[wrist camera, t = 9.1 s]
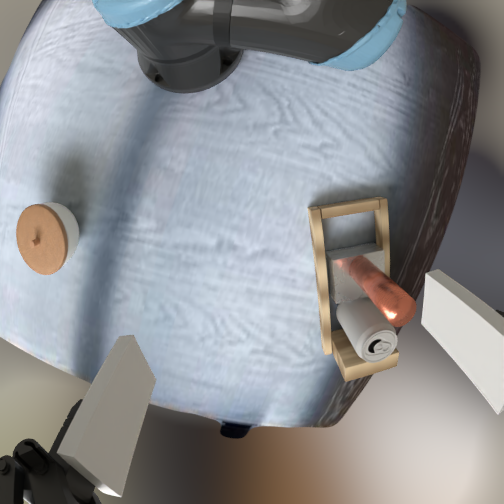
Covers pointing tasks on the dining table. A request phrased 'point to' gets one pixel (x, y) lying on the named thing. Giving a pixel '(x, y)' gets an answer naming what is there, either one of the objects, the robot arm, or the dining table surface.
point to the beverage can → (367, 329)
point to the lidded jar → (47, 236)
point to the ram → (367, 281)
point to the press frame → (336, 339)
